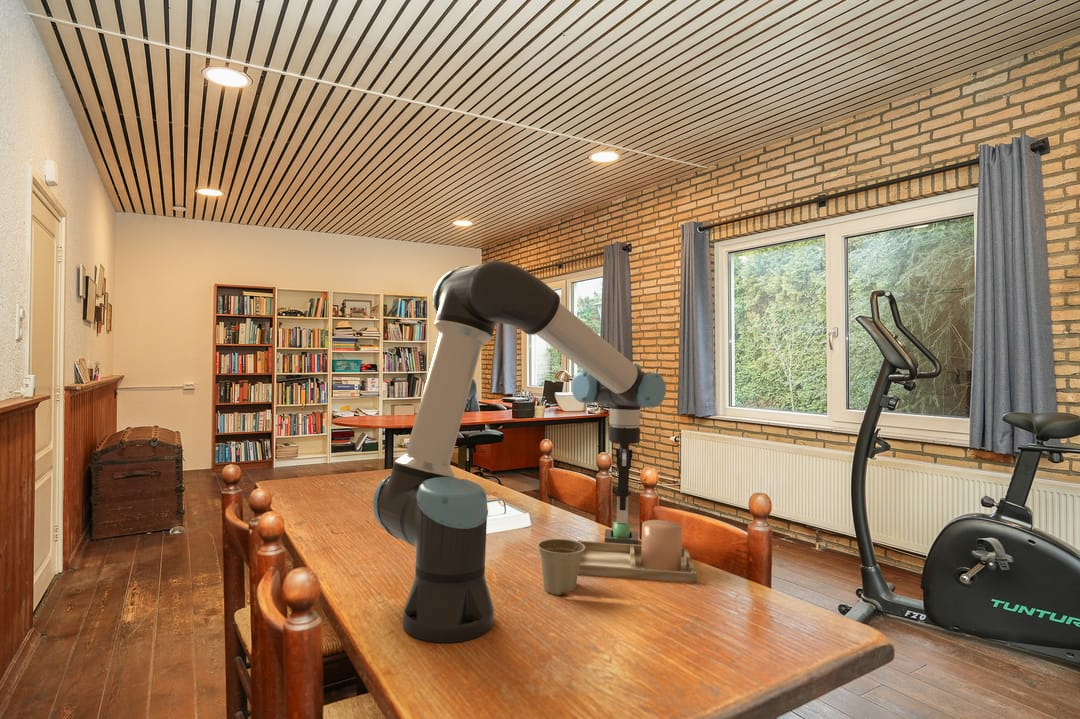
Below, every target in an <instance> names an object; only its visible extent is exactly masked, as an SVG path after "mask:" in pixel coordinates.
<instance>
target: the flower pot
mask: <svg viewBox="0 0 1080 719" xmlns="http://www.w3.org/2000/svg"><path fill="white" fill-rule="evenodd" d="M536 545H537V548H538V550H539V555H540V558H541V570H542V580H543V583H542V584H543V589H544V590H545V591H546V593H549V594H552V595H556V596H559V595H560V596H561V595H562V592H570V591H574V590H575V589H576V587H577V582H578V576H579V574H578V571H579V565H580V560H581V557H582V555H583V551H585V546H584V545H583V544H582V543H580V542H578V540H574V539H565V538H551V539H550V538H549V539H545V540H541V541H539V542H538V543H537V544H536Z"/></svg>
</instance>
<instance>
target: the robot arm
mask: <svg viewBox="0 0 1080 719" xmlns="http://www.w3.org/2000/svg"><path fill="white" fill-rule="evenodd" d="M432 305H433V307H434V309H435V313H436V317H435V320H434V324H433V325H434V326H435V328H436V330H437V332H438V335H439V336H438V338H437V342H436V346H435V349H434V353H433V356H432V359H431V362H430V363H431V364H430V367H429V370H428V373H427V377H426V381H425V385H424V387H423V391H422V394H421V399H420V402H419V405H418V407H417V412H416V415H415V418H414V422H413V426H412V430H411V433H410V437H409V440H408V443H407V446H406V450H405V453H404V454H403V455H402V456H400V457H398V458H397V459H395V460H394V462H393V466H392V469H391V472H390V474H389V475H387V477H385V478H383V479H382V480H381V481H380V483H379V484H378V485H377V487H376V490H375V493H374V495H373V500H372V503H373V504H372V506H373V507H372V508H373V513H374V517H375V519H376V521H377V522H378V524H379V525H380V527H382V528H383V529H384V530H385V532H387V533H388V534H389V535H390V536H392V537H394V538H396V539H399V540H401V541H403V542H405V543H407V544H409V545H410V546H413V547H415V571H414V572H415V574H414V575H415V576H414V579H413V583H412V585H411V588H410V591H409V594H408V597H407V600H406V603H405V605H404V608H403V612H402V628H403V630H404V632H406V633H407V634H408V635H410V636H412V637H413V638H415V639H418V640H422V641H426V642H432V643H456V642H458V643H459V642H463V641H464V642H465V641H468V640H472V639H475V638H478V637H480V636H482V635H485V634H486V633H487V632H489V631H490V630H491V629H492V628H493V626H494V619H495V618H494V616H495V609H494V604H493V600H492V597H491V594H490V590H489V586H488V583H487V579H486V575H485V574H486V548H487V524H488V522H487V521H488V515H489V508H488V498H487V493H486V491H485V489H484V487H482V486H481V485H480V484H478V483H476V482H474V481H472V480H468V479H465V478H462V479H460V478H458V477H456V475H455V473H454V471H453V469H452V467H451V461H452V458H453V453H454V449H455V446H456V443H457V439H458V436H459V431H460V428H461V425H462V424H461V423H462V420H463V416H464V412H465V408H466V405H467V402H468V397H469V394H470V392H471V387H472V383H473V379H474V375H475V372H476V368H477V366H478V362H479V358H480V355H481V354H480V353H481V351H482V350H481V349H482V347H483V346H484V345H486V344H487V343H489V342H490V341H492V338H493V335H494V332H495V329H496V324H504V325H505V324H506V325H509V326H512V327H514V328H515V327H516V328H518V329H519V330H521V331H522V332H524V334H526V335H528V336H536V335H537V336H538V337H539V338H540V339H542V340H543V341H545V342H546V343H547V344H548V345H550V346H551V347H553V349H555V350H557V351H558V352H559V353H560V354H562V355H563V356H565V357H566V358H567V359H568V360H570V361H571V362H572V363H574V364H575V365H576V366H578V367H579V368H581V369H582V370H581V371H578V372H577V373H576V374H575V375H574V376H573V378H572V381H571V392H572V395H573V397H574V399H575V400H576V401H578V402H579V403H583V404H584V403H585V404H607V405H609V418H608V419H609V422H608V423H609V425H610V427H608V428H609V432H608V440H609V441H610V442H611V443H615V444H619V448H615V457H616V468H617V470H618V473H617V474H618V476H617V478H618V479H617V492H615V493H614V497H616V521H617V522H616V521H615V522H616V523H627V524H628V523H629V522H628V521H629V520H628V519H629V496H630V495H631V494H632V491H629V486H630V485H629V484H630V483H629V480H630V469H631V468H632V459H633V449H630V444H631V445H632V444H633V445H634V444H639V443H640V442H641V428H640V427H638V426H640V425H641V418H643V417H644V413H642V412H641V410H642V409H645V408H649V409H650V408H651V409H652V408H653V409H654V408H657V407H658V406H660V405H661V404H662V403H663V401H664V399H665V396H666V393H667V385H666V381H665V380H664V378H663V377H662V376H661V375H660V374H658V373H656V372H651V371H647V372H645V371H643V370H642V367H641V365H640V364H638V363H633V362H631V361H630V359H628V358H627V357H626V356H625V355H623V354H622V353H621V352H620V351H619V350H617V349H616V348H615V347H613V345H611V344H610V343H609V342H608V341H606V340H605V339H604V338H603V337H602V336H601V335H599V334H598V333H597V332H595V331H594V330H593V329H592V328H591V327H590V326H588V324H586V323H585V322H583V320H581V319H580V318H579V317H577V316H576V315H575V314H574V313H573V312H572V311H570V310H569V309H568V308H566V306H564V305H563V304H562V303H561V297H560V295H559V293H557V291H555V290H554V289H552V288H551V286H549V285H548V284H546V283H545V282H544V281H542V280H541V279H540V278H538V277H536V276H535V275H533V274H532V273H531V272H529V271H528V270H526V269H524V268H522V267H520V266H518V265H516V264H513V263H511V262H507V261H502V260H493V261H488V262H485V263H480V264H475V265H464V266H460V267H456V268H454V269H452V270H450V271H448V272H447V273H446V274H444V275H442V276H441V277H440V279H439V280H438V281H437V283H436V285H435V287H434V290H433V294H432Z"/></svg>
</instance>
